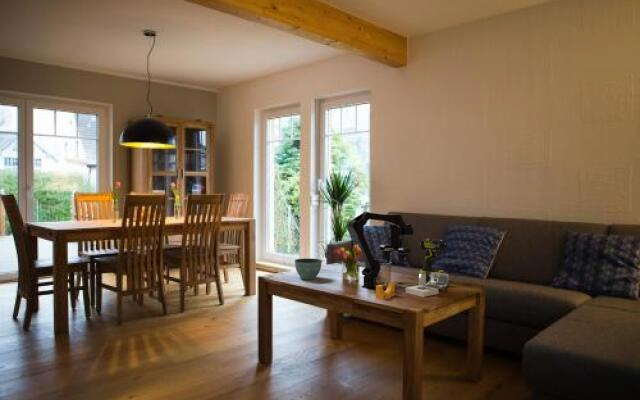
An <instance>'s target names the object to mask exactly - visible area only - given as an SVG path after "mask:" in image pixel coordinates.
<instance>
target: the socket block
mask: <svg viewBox="0 0 640 400" xmlns="http://www.w3.org/2000/svg"><path fill="white" fill-rule="evenodd" d="M390 282H391V283H395V291H399V292H406V287H412V286H417V285H419V283H414V282H410V281H406V280H397V281H390ZM390 282H385V283H386V288H387V287H388V283H390Z"/></svg>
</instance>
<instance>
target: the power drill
mask: <svg viewBox="0 0 640 400" xmlns="http://www.w3.org/2000/svg"><path fill="white" fill-rule="evenodd" d="M419 248H420V250H422V251H425V252H426V254H425V257H424V260H423V264H422V268H421V269H420V270H419V274H420V273H422V274H426V282H429V279H430V277H429V275H431V272H432V273H441V274H446V272H444V270H442V269H436V268H435V269H433V262H434V259H435V258H439V254H440V253H441V252H442V251H443V250H447V249H446V248H450V244H449V243H447V241H446V240H443V239H440V238H439V239H438V238H427V237H426V238H420V240H419Z"/></svg>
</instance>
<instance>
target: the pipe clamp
mask: <svg viewBox="0 0 640 400" xmlns="http://www.w3.org/2000/svg"><path fill="white" fill-rule="evenodd" d="M391 282H392V281H390V283H389V282H387V283H388V287H386V290H384V288H383V285H379V284H378V285H377V284H376V288H375V299H378V300H382V301H384V300H387V299H391V297H394V296H395V292H396V290H395V283H391Z"/></svg>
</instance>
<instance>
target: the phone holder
mask: <svg viewBox="0 0 640 400" xmlns="http://www.w3.org/2000/svg"><path fill="white" fill-rule="evenodd" d="M429 277H430V279H429V281H428V282H427V283H426V286H428V287H432V288H436V289H439V290H441V292H443V291H445V288H446V287H450V286H451V281H449V273H448V274H447V273H445V274H441V273H432V272H431V275H429Z"/></svg>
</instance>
